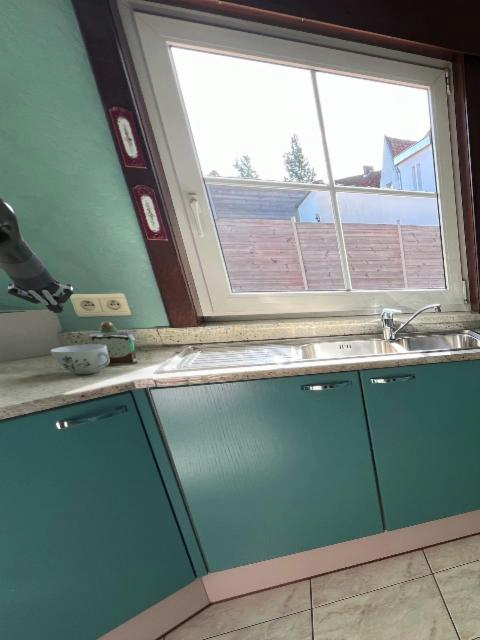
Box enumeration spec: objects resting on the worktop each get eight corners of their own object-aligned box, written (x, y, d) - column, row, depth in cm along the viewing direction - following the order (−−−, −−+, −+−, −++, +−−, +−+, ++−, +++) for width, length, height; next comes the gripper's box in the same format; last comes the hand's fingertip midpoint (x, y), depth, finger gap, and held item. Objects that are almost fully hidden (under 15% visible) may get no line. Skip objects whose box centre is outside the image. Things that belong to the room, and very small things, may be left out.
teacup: (47, 375, 151) (37, 349, 148) (89, 367, 162) (80, 343, 159) (93, 378, 150) (84, 352, 147) (132, 369, 161) (124, 345, 159)
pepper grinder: (113, 357, 178) (102, 322, 173) (105, 356, 179) (93, 321, 174) (129, 355, 182) (118, 321, 177) (120, 354, 183) (109, 320, 179)
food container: (151, 360, 175) (142, 332, 171) (139, 364, 169) (129, 334, 165) (111, 360, 173) (101, 331, 169) (97, 364, 167) (87, 334, 163)
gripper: (59, 255, 129) (89, 299, 143) (-15, 253, 123) (24, 300, 137) (59, 277, 127) (90, 320, 141) (-16, 277, 121) (24, 322, 135)
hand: (57, 310), depth 139 cm, fingers closed
